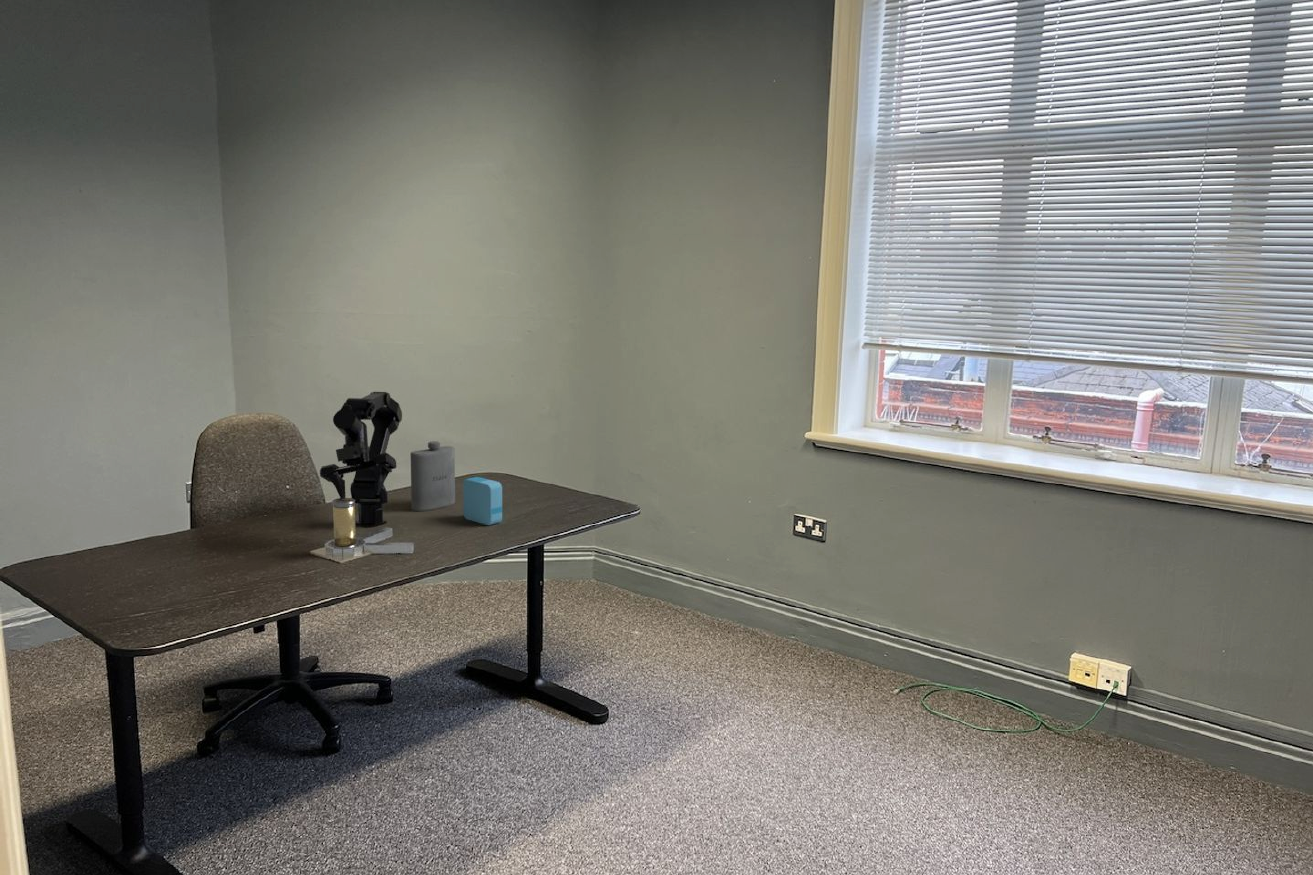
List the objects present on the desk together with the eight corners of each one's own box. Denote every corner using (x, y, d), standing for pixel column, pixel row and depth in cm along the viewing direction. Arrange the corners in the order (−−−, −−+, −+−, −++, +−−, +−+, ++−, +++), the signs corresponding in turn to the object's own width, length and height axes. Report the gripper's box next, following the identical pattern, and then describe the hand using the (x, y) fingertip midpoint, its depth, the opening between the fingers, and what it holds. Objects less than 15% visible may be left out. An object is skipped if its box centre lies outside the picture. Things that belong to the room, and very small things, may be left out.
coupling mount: (310, 553, 234) (309, 544, 234) (382, 533, 253) (382, 524, 252) (361, 569, 223) (360, 559, 223) (432, 547, 242) (432, 538, 242)
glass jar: (329, 550, 235) (327, 500, 232) (347, 545, 239) (345, 496, 237) (343, 554, 232) (341, 504, 230) (361, 549, 236) (359, 500, 234)
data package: (502, 523, 266) (502, 482, 263) (490, 526, 262) (490, 485, 260) (474, 515, 273) (474, 475, 271) (462, 518, 270) (462, 478, 267)
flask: (420, 513, 274) (419, 446, 270) (408, 509, 277) (406, 443, 273) (460, 503, 285) (459, 440, 281) (448, 500, 289) (447, 437, 285)
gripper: (308, 440, 238) (311, 497, 233) (378, 425, 237) (382, 482, 232) (328, 453, 249) (331, 508, 243) (394, 439, 248) (399, 494, 242)
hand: (360, 498), depth 240 cm, fingers open, 9 cm apart
